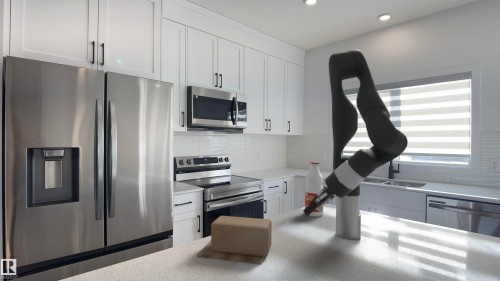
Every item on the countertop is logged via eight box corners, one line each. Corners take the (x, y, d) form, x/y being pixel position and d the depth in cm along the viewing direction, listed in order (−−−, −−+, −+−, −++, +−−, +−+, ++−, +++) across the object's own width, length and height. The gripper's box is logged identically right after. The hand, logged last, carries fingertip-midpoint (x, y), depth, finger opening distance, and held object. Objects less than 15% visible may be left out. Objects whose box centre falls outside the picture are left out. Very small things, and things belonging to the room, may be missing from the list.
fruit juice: (326, 216, 135) (326, 162, 135) (309, 217, 133) (309, 162, 133) (318, 211, 144) (318, 160, 144) (302, 212, 142) (302, 161, 142)
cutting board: (268, 244, 98) (268, 242, 98) (261, 264, 83) (261, 261, 83) (213, 239, 103) (213, 237, 103) (196, 256, 88) (196, 254, 88)
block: (267, 227, 85) (210, 223, 90) (267, 258, 85) (210, 252, 90) (272, 218, 95) (219, 214, 99) (271, 246, 95) (219, 241, 99)
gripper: (342, 167, 85) (306, 199, 92) (328, 171, 74) (289, 207, 81) (359, 185, 82) (320, 217, 89) (348, 192, 71) (305, 228, 78)
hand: (305, 212), depth 85 cm, fingers closed
